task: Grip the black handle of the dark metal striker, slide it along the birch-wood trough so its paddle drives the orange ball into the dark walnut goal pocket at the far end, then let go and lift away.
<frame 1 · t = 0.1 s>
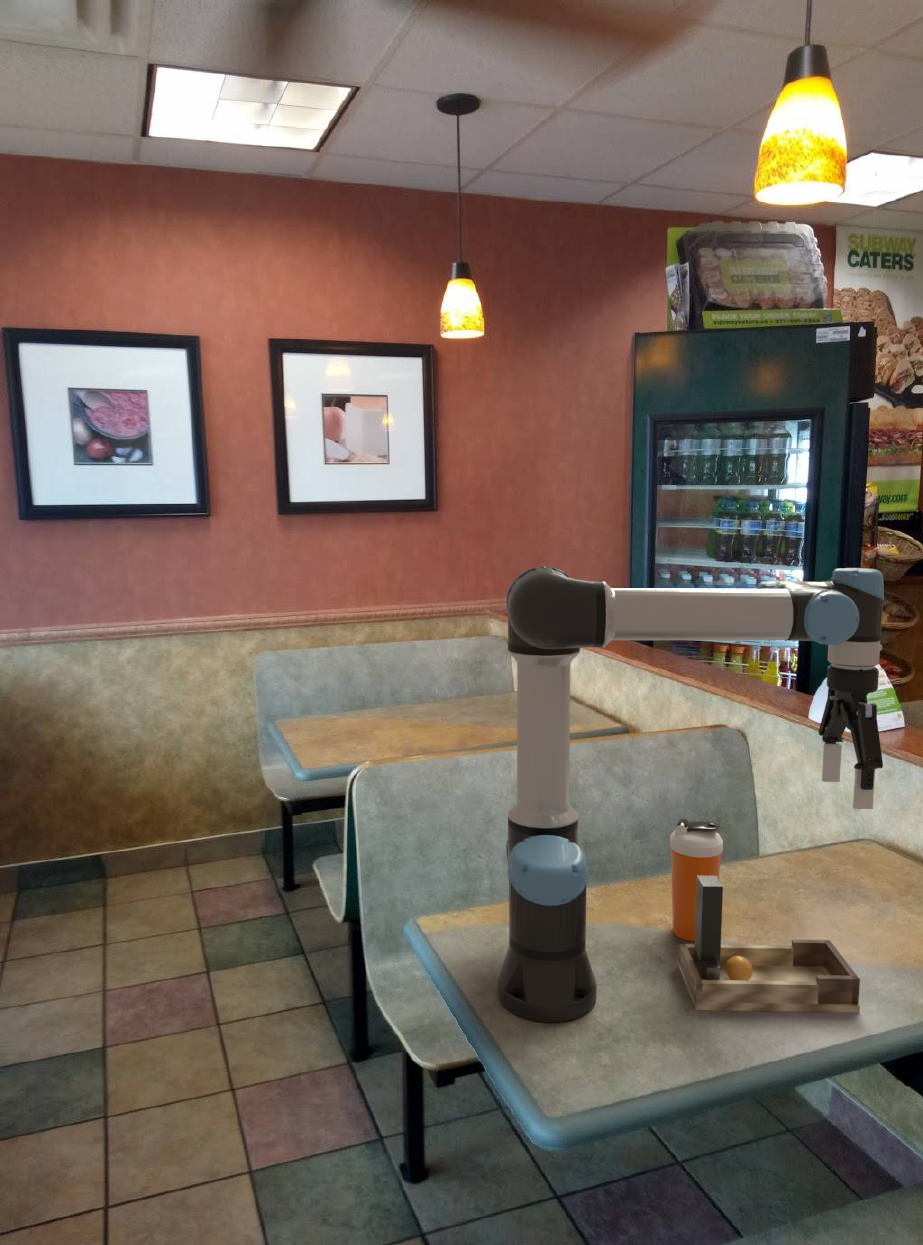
hand: (846, 794, 146), 28 cm above the table, tool pointing down, fingers open, 13 cm apart
ball: (739, 969, 140), point 3 cm above the table, touching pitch
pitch: (764, 988, 140), on the table
shaker bottle: (693, 933, 158), on the table
striker: (708, 930, 139), point 9 cm above the table, slide at 0.0 cm
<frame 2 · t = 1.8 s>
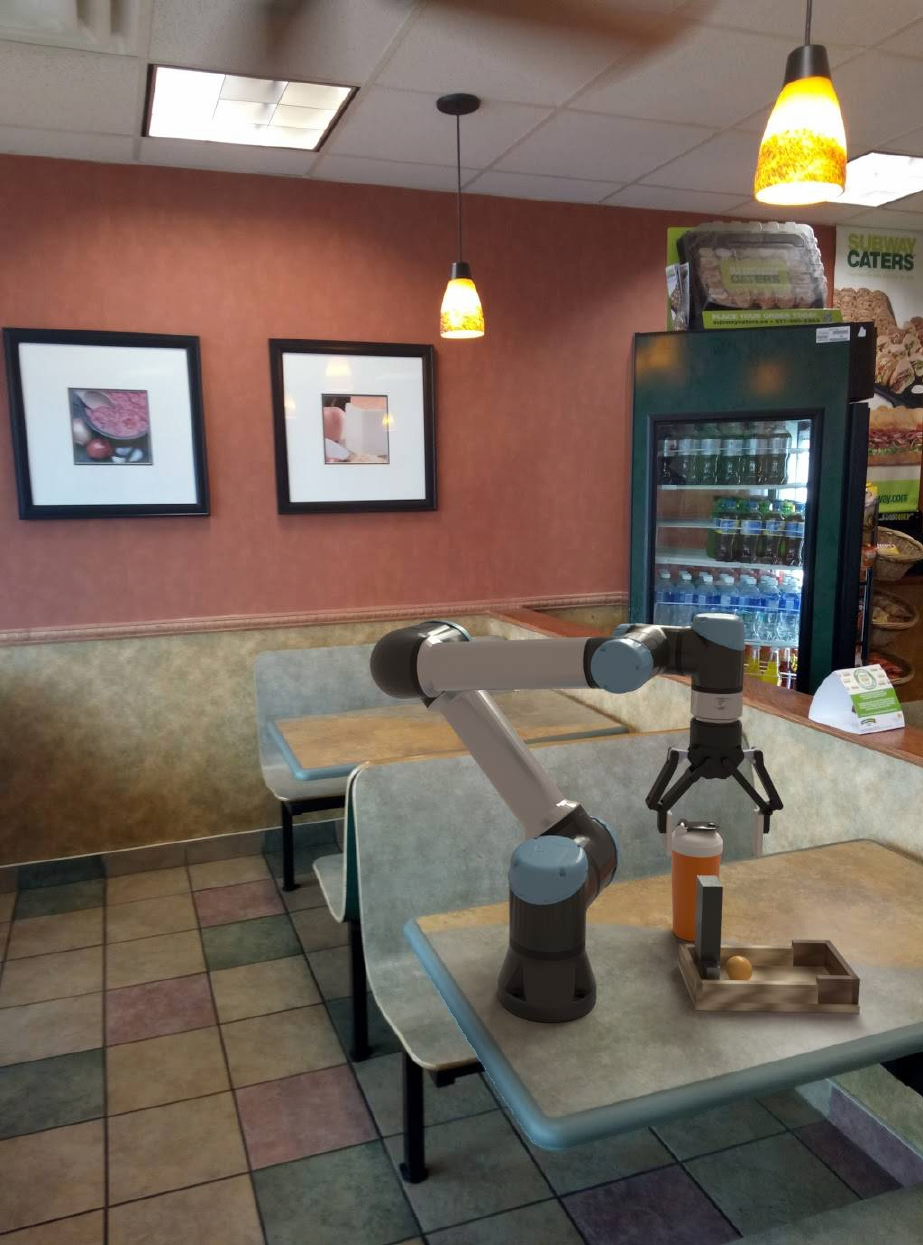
hand: (712, 853, 137), 22 cm above the table, tool pointing down, fingers open, 13 cm apart
nothing on the table moved.
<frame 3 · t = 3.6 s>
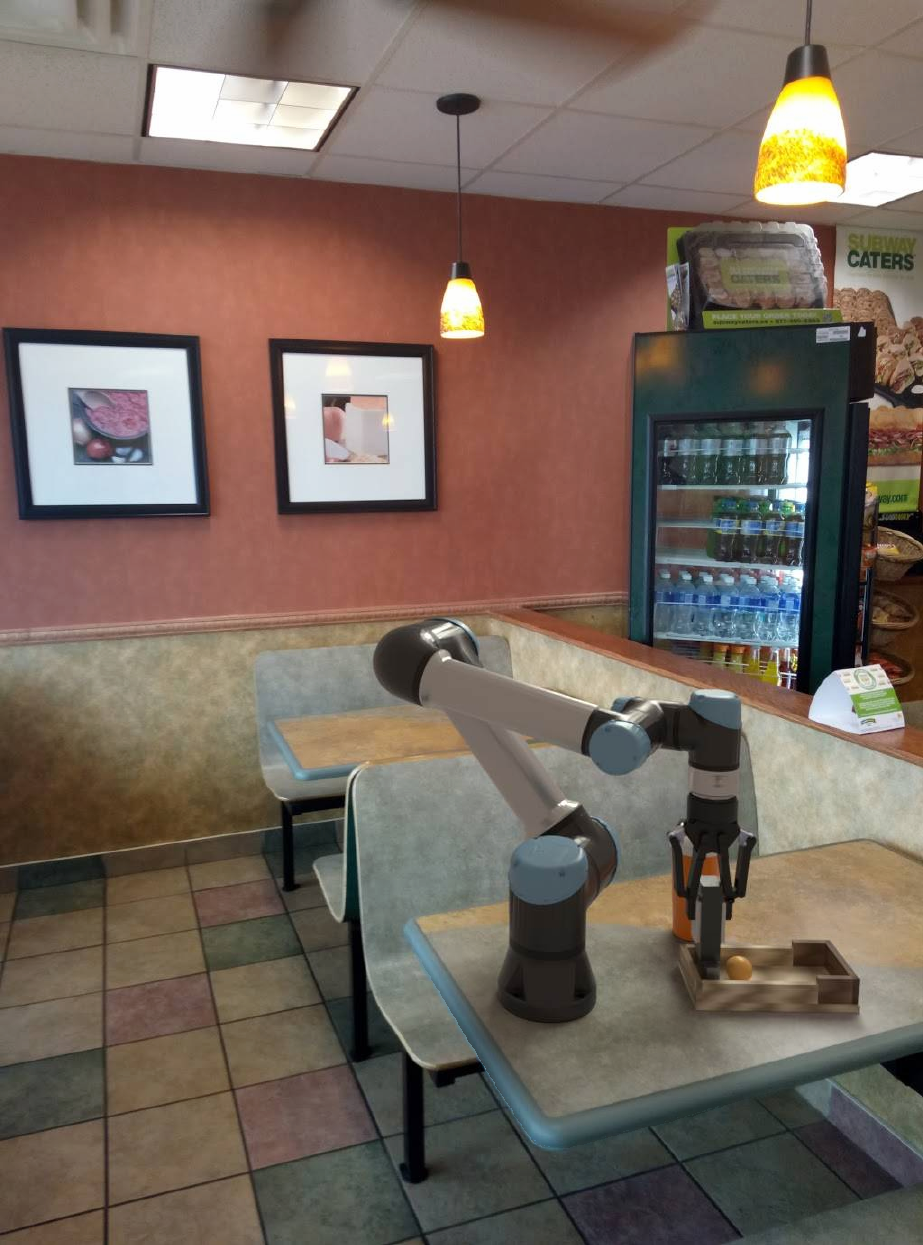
hand: (707, 938, 139), 8 cm above the table, tool pointing down, fingers closed on striker, 3 cm apart
striker: (708, 930, 139), point 9 cm above the table, slide at 0.0 cm, touching gripper
everything else where it was.
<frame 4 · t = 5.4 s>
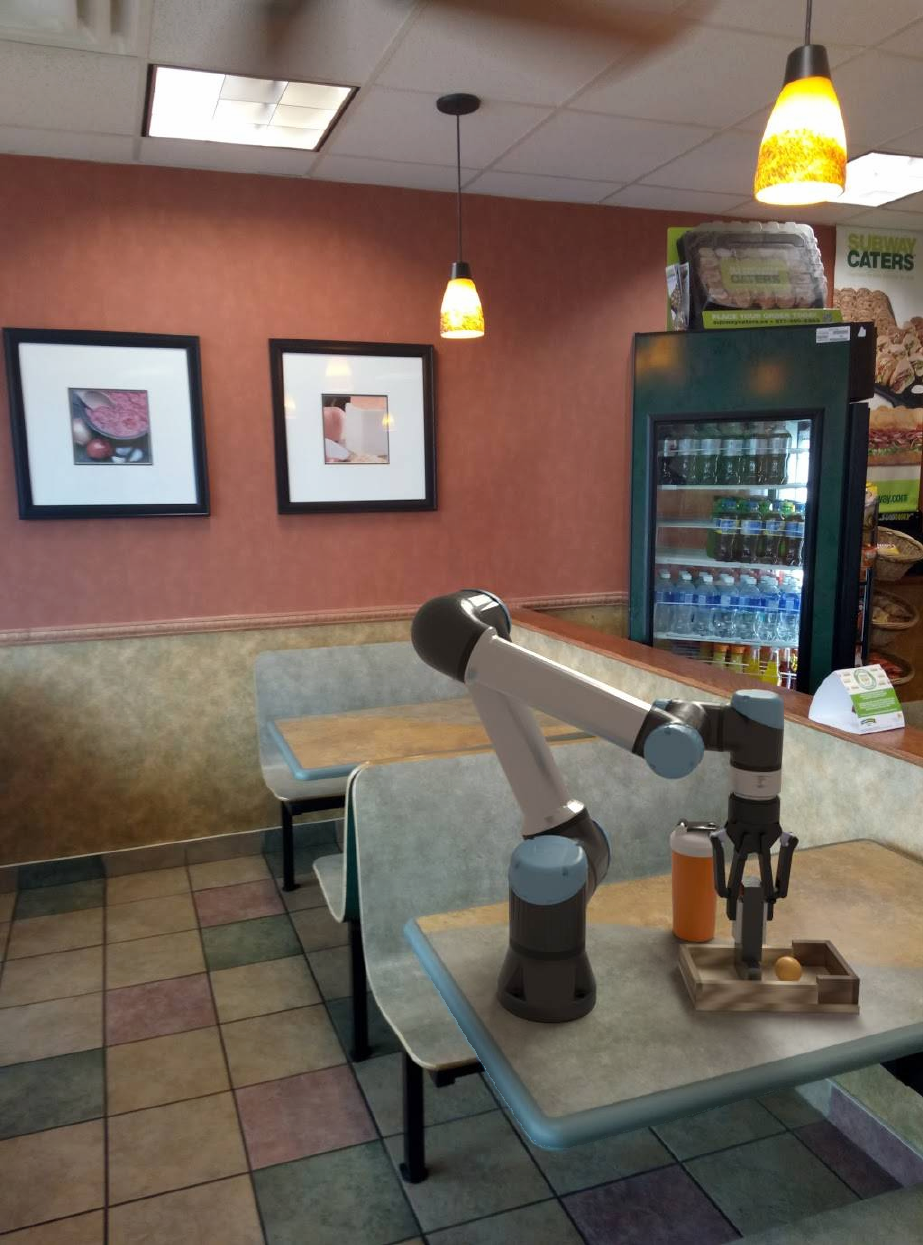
hand: (748, 939, 139), 8 cm above the table, tool pointing down, fingers closed on striker, 3 cm apart
ball: (788, 970, 139), point 3 cm above the table, tilted 145°, touching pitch
striker: (748, 930, 139), point 9 cm above the table, slide at 6.3 cm, touching gripper
everything else where it was.
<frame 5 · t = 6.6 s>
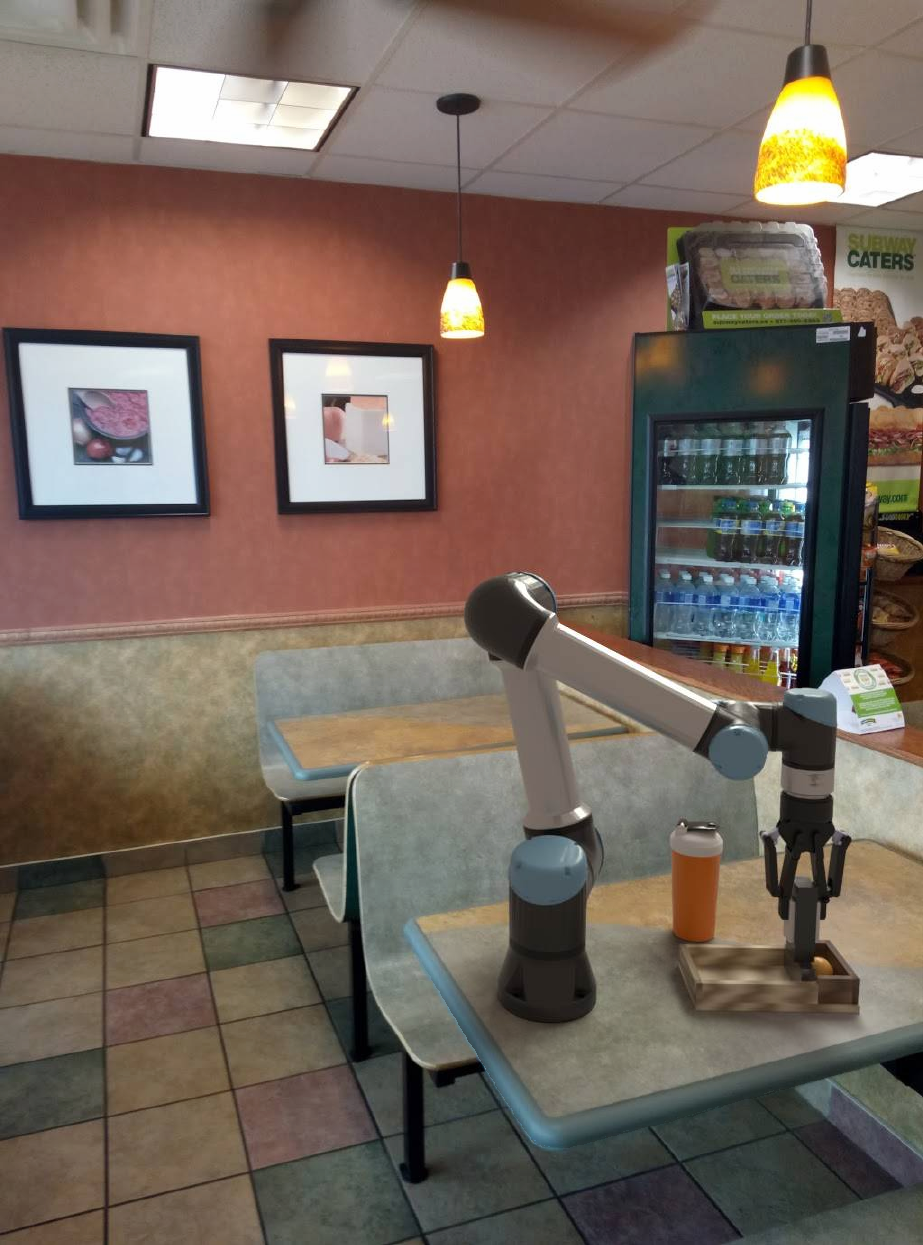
hand: (800, 938, 138), 8 cm above the table, tool pointing down, fingers closed on striker, 3 cm apart
ball: (818, 970, 139), point 3 cm above the table, tilted 16°, touching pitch
striker: (800, 931, 138), point 9 cm above the table, slide at 14.2 cm, touching gripper
everything else where it was.
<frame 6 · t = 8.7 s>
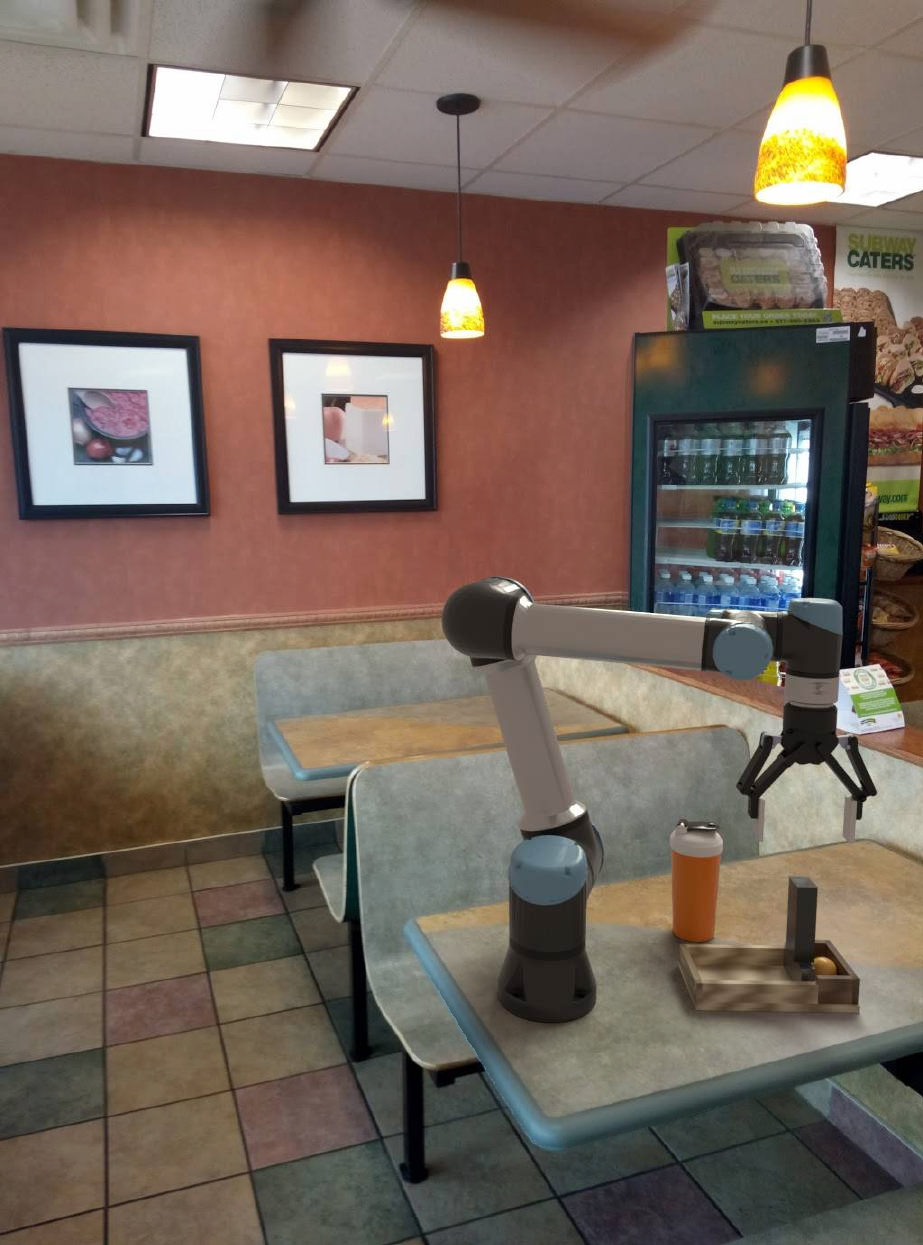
hand: (803, 839, 137), 24 cm above the table, tool pointing down, fingers open, 13 cm apart
ball: (823, 970, 139), point 3 cm above the table, touching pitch
striker: (800, 931, 138), point 9 cm above the table, slide at 14.2 cm
everything else where it was.
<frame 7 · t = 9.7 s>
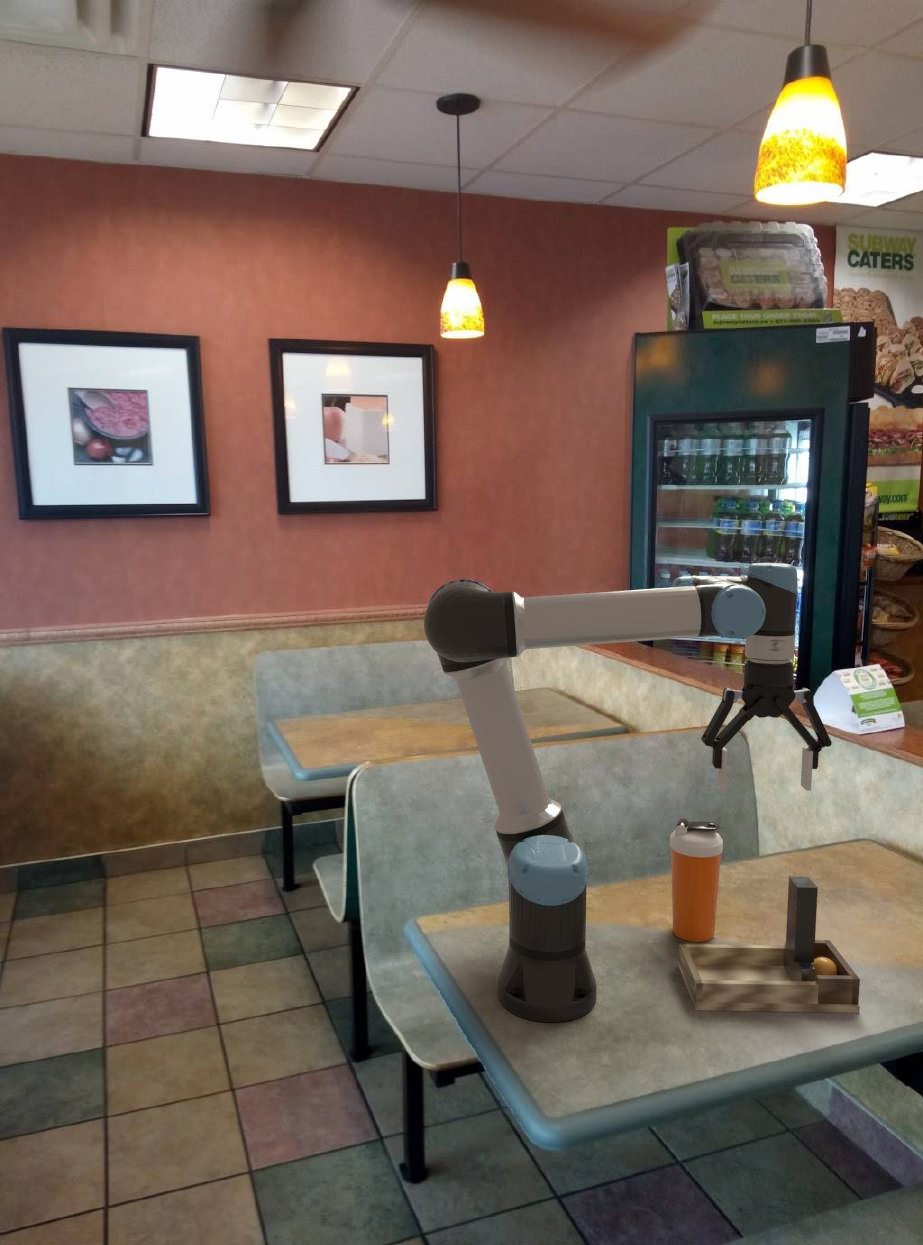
hand: (763, 787, 147), 29 cm above the table, tool pointing down, fingers open, 13 cm apart
nothing on the table moved.
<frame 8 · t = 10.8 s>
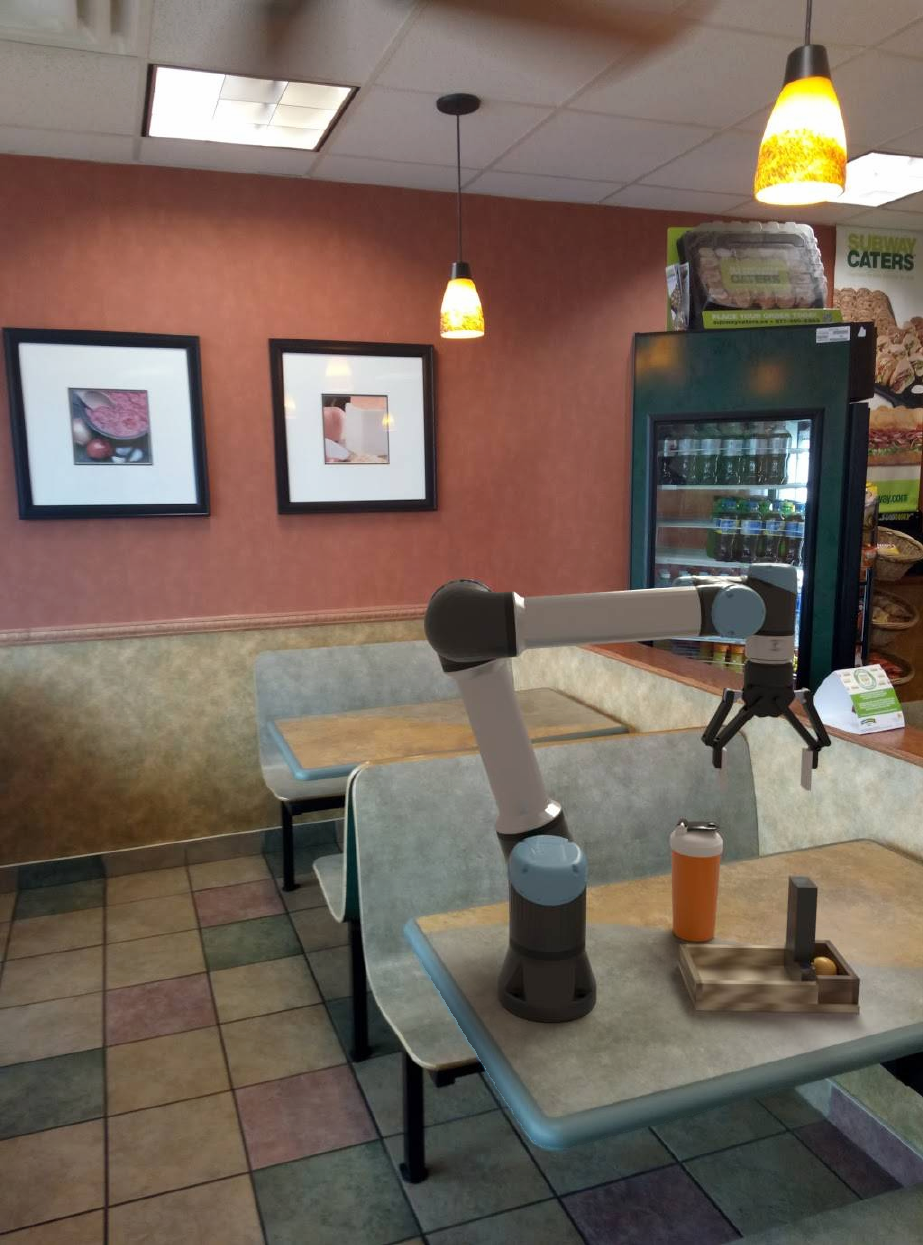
hand: (763, 787, 147), 29 cm above the table, tool pointing down, fingers open, 13 cm apart
nothing on the table moved.
at the end: ball inside the target area (0.4 cm from its centre), point 3.0 cm above the table; striker slide at 14.2 cm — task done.
